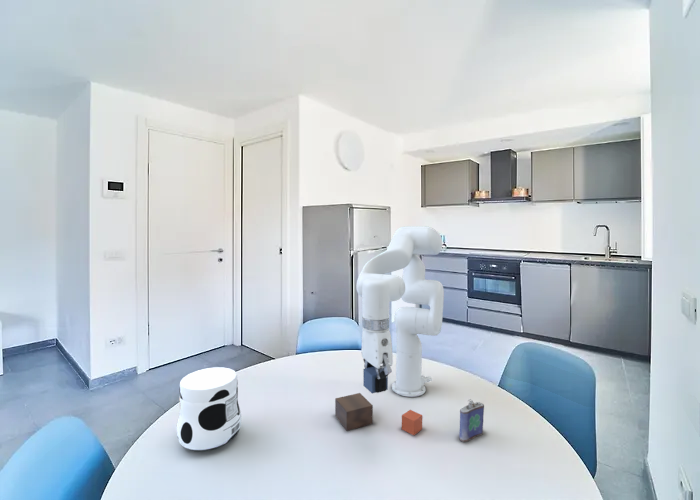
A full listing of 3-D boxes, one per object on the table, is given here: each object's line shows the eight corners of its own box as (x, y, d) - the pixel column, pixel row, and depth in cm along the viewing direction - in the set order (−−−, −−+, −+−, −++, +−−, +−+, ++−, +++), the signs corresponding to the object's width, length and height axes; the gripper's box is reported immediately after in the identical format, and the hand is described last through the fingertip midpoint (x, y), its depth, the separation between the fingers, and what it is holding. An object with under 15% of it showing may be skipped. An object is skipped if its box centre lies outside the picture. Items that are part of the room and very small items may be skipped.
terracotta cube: (410, 423, 107) (410, 409, 106) (422, 429, 103) (422, 415, 103) (401, 429, 103) (401, 415, 103) (413, 435, 100) (414, 421, 100)
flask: (464, 443, 97) (464, 406, 96) (456, 438, 99) (456, 402, 99) (485, 433, 101) (486, 398, 101) (477, 428, 104) (478, 394, 103)
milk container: (179, 428, 103) (177, 371, 102) (238, 416, 110) (237, 362, 109) (174, 464, 88) (172, 397, 86) (244, 448, 94) (243, 385, 93)
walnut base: (359, 409, 114) (359, 392, 114) (372, 423, 106) (372, 405, 106) (335, 416, 111) (335, 398, 110) (346, 431, 102) (346, 411, 102)
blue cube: (378, 382, 98) (378, 365, 98) (387, 389, 94) (387, 372, 94) (363, 385, 96) (363, 368, 96) (372, 393, 92) (372, 375, 91)
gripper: (404, 330, 88) (404, 397, 89) (372, 314, 103) (372, 372, 104) (379, 334, 84) (379, 404, 86) (350, 317, 100) (350, 377, 101)
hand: (375, 386), depth 95 cm, fingers closed on blue cube, 5 cm apart
